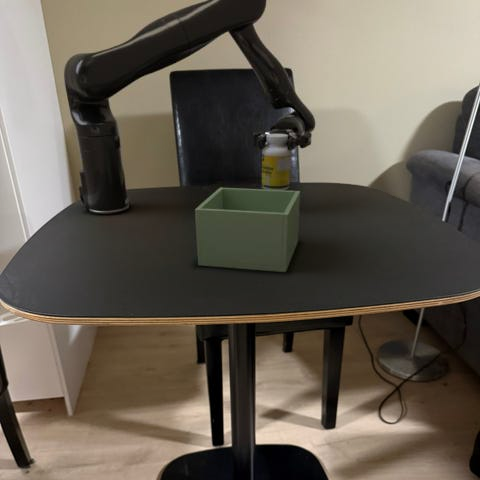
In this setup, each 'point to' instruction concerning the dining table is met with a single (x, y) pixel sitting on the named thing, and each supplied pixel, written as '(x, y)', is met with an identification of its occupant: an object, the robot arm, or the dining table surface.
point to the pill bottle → (276, 163)
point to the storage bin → (248, 229)
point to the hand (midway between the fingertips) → (275, 144)
